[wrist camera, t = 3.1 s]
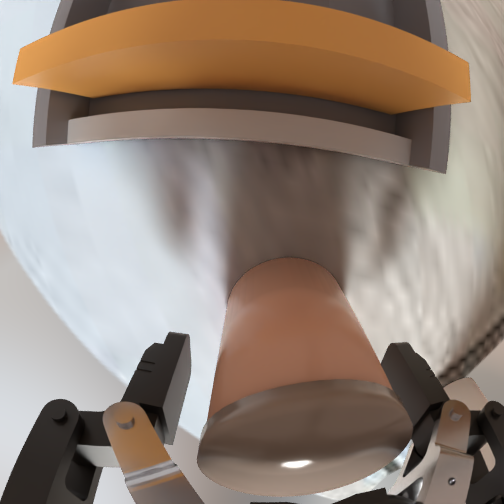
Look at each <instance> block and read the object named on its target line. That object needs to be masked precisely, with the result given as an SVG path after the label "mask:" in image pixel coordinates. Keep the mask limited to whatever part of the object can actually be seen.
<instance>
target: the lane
mask: <svg viewBox="0 0 504 504" xmlns="http://www.w3.org/2000/svg"><path fill="white" fill-rule="evenodd" d="M156 3H159V0H61V2H60V4H59V7H58V10H57V13H56V16H55V19H54V22H53V25H52V28H51V31H50V34H52V33H55V32H57V31H59V30H62V29H64V28H67V27H70V26H72V25H75V24H78V23H81V22H83V21H86V20H89V19H93V18H96V17H99V16H103V15H106V14H110V13H113V12H117V11H121V10H126V9H130V8H135V7H139V6H145V5H150V4H156ZM329 8H331V9H336V10H340V11H344V12H348V13H352V14H355V15H359V16H362V17H366V18H369V19H372V20H375V21H378V22H381V23H384V24H387V25H390V26H393V27H395V28H398V29H401V30H403V31H406V32H408V33H411V34H413V35H415V36H418V37H420V38H422V39H424V40H426V41H429V42H431V43H433V44H435V45H437V46H439V47H441V48H443V49H445V50H447V51H448V44H447V36H446V29H445V23H444V17H443V12H442V7H441V2H440V0H329ZM450 121H451V104H450V105H443V106H436V107H430V108H424V109H418V110H413V111H407V112H402V113H397V114H393V115H390V114H386V113H382V112H379V111H375V110H371V109H367V108H363V107H359V106H355V105H350V104H346V103H341V102H336V101H331V100H325V99H320V98H314V97H308V96H301V95H294V94H286V93H277V92H267V91H255V90H238V89H172V90H156V91H144V92H134V93H126V94H118V95H111V96H105V97H99V98H90V97H85V96H81V95H76V94H71V93H66V92H61V91H56V90H50V89H44V88H38V91H37V98H36V106H35V115H34V127H33V146H32V148H35V147H45V146H57V145H73V144H84V143H94V142H104V141H118V140H135V139H171V138H184V139H221V140H239V141H253V142H265V143H275V144H284V145H293V146H301V147H308V148H315V149H322V150H328V151H334V152H340V153H346V154H351V155H356V156H362V157H367V158H371V159H376V160H381V161H385V162H389V163H394V164H398V165H402V166H407V167H413V168H418V169H424V170H429V171H434V172H439V173H444V174H446V170H447V161H448V152H449V139H450Z"/></svg>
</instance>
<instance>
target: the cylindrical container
mask: <svg viewBox="0 0 504 504" xmlns="http://www.w3.org/2000/svg"><path fill="white" fill-rule="evenodd" d="M443 389H444V390H445V392H446V394H447V395H448V397H449V399H450V400H458V401H461V402H463V403H464V404H465V405H466V406H467V407H468V408H469V410H482V409H483V407H484V406H485V405H486V403H488V401H487V399H486V398H485V396H484V395H483V393H482V392H481V391H480V389H479V387H478V386H477V384H476V383H475V382H474V380H473V379H472V378H462V379H459V380H456V381H454V382H452V383H450V384H448V385H447V386H445V387H443ZM480 451H481V453H482V456H483V458H484V460H485V463H486V465H487V468H488V470H489V472H490V471H491V470H492V469H493V468H494V466H495V458H494V455H493V453H492V451H491V449H490V446H489V444H488V442H487V443H486V444H485V445H484V446H483V447H482V448H481V449H480ZM465 504H466V502H465Z"/></svg>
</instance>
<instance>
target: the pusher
mask: <svg viewBox="0 0 504 504" xmlns="http://www.w3.org/2000/svg"><path fill="white" fill-rule="evenodd" d="M13 84H16V85H24V86H31V87H38V88H44V89H50V90H56V91H61V92H66V93H71V94H76V95H81V96H85V97H90V98H99V97H105V96H111V95H118V94H126V93H134V92H144V91H156V90H172V89H238V90H255V91H267V92H277V93H286V94H294V95H301V96H308V97H314V98H320V99H325V100H331V101H336V102H341V103H346V104H350V105H355V106H359V107H363V108H367V109H371V110H375V111H379V112H382V113H386V114H390V115H393V114H397V113H402V112H407V111H413V110H418V109H424V108H430V107H436V106H443V105H450V104H457V103H466V102H471V92H470V75H469V63H468V62H466V61H465V60H463V59H461V58H459V57H458V56H456V55H454V54H452V53H450V52H449V51H447V50H445V49H443V48H441V47H439V46H437V45H435V44H433V43H431V42H429V41H426V40H424V39H422V38H420V37H418V36H415V35H413V34H411V33H408V32H406V31H403V30H401V29H398V28H395V27H393V26H390V25H387V24H384V23H381V22H378V21H375V20H372V19H369V18H366V17H362V16H359V15H355V14H352V13H348V12H344V11H340V10H336V9H331V8H329V0H159V3H156V4H150V5H145V6H139V7H135V8H130V9H126V10H121V11H117V12H113V13H110V14H106V15H103V16H99V17H96V18H93V19H89V20H86V21H83V22H81V23H78V24H75V25H72V26H70V27H67V28H64V29H62V30H59V31H57V32H55V33H52V34H50V35H48V36H45V37H43V38H41V39H39V40H37V41H35V42H33V43H31V44H29V45H27V46H25V47H23V48H21V49H20V52H19V56H18V60H17V64H16V69H15V73H14V78H13Z"/></svg>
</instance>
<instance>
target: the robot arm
mask: <svg viewBox="0 0 504 504" xmlns="http://www.w3.org/2000/svg"><path fill="white" fill-rule="evenodd" d="M381 366H382V368H383V370H384V372H385V374H386V376H387V378H388V381H389V383H390V385H391V387H392V389H393V391H394V392H396V393H397V394H398V395H399V397H400V398H401V400H402V402H403V404H404V406H405V408H406V411H407V413H408V415H409V417H410V420H411V422H412V425H413V433H412V437H411V439H412V441H413V443H412V444H411V446H410V448H409V450H408V453H407V456H406V458H405V461H404V464H403V466H402V469H401V471H400V473H399V476H398V478H397V480H396V482H395V484H394V485H393V487H392V488H391V489H390V490H389V491H388V493H386V489H385V488H381V489H377V490H373V491H369V492H364V493H359V494H355V495H353V496H350V497H348V498H346V499H343V500H341V501H338V502H335V503H333V504H465V502H466V504H504V406H503V405H501V404H500V403H499V402H496V401H490V402H488V403H486V405H485V406H484V407H483V409H482V410H469V408H468V407H467V406H466V405H465V404H464V403H463V402H461V401H458V400H450V399H449V397H448V395H447V394H446V392H445V390H444V389H443V387H442V385H441V384H440V382H439V381H438V379H437V377H435V374H434V373H433V371H432V370H430V369H431V368H430V367H429V365H428V364H427V362H426V360H425V359H423V358H422V357H421V356H420V355H419V354H417V353H415V352H414V350H413V348H412V347H411V345H410V344H409V343H407V342H402V343H391V344H390V345H389V346H388V348H387V351H386V353H385V355H384V358H383V360H382V362H381ZM190 375H191V351H190V337H189V334H183V333H175V332H169V333H168V335H167V337H166V339H165V342H164V344H160V343H154V344H153V345H151V346H150V347H149V348H148V349H146V350H145V352H144V354H143V356H142V358H141V362H139V364H138V366H137V370H135V373H134V375H133V377H132V379H131V381H130V383H129V385H128V387H127V389H126V392H125V394H124V396H123V398H122V400H121V401H120V402H118V403H115V404H113V405H111V406H110V407H109V408H107V409H106V411H102V412H92V411H78V410H77V408H76V406H75V405H74V404H73V403H72V402H70V401H68V400H65V399H56V400H53V401H50V402H49V403H47V404H46V405H45V406H44V408H43V409H42V411H41V413H40V415H39V417H38V418H37V420H36V422H35V424H34V426H33V428H32V430H31V432H30V434H29V436H28V438H27V440H26V442H25V444H24V446H23V448H22V450H21V452H20V454H19V456H18V459H17V461H16V463H15V465H14V468H13V470H12V472H11V475H10V477H9V480H8V482H7V485H6V487H5V490H4V492H3V495H2V498H1V501H0V504H93V501H94V497H95V493H96V490H97V486H98V482H99V479H100V476H101V472H102V469H103V467H121V470H122V472H123V474H124V477H125V483H126V485H127V488H128V490H129V492H130V494H131V496H132V498H133V499H134V501H135V503H136V504H204V502H203V501H202V500H201V498H200V497H199V496H198V494H197V493H196V492H195V490H194V489H193V487H192V486H191V485H190V483H189V482H188V481H187V479H186V477H185V476H184V475H183V473H182V472H181V470H180V469H179V467H178V466H177V465H176V464H174V463H173V461H172V459H171V458H170V456H169V455H168V453H167V451H166V450H165V448H164V444H169V445H173V442H174V438H175V434H176V430H177V426H178V422H179V418H180V414H181V410H182V406H183V402H184V399H185V395H186V391H187V387H188V383H189V380H190ZM487 442H488V444H489V446H490V449H491V451H492V453H493V455H494V458H495V466H494V468H493V469H492V470H491V471H490V472H489V470H488V468H487V465H486V463H485V460H484V458H483V456H482V453H481V451H480V449H481V448H482V447H483V446H484V445H485V444H486V443H487ZM250 504H296V503H289V502H275V503H274V502H269V503H266V502H261V503H258V502H251V503H250Z"/></svg>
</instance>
